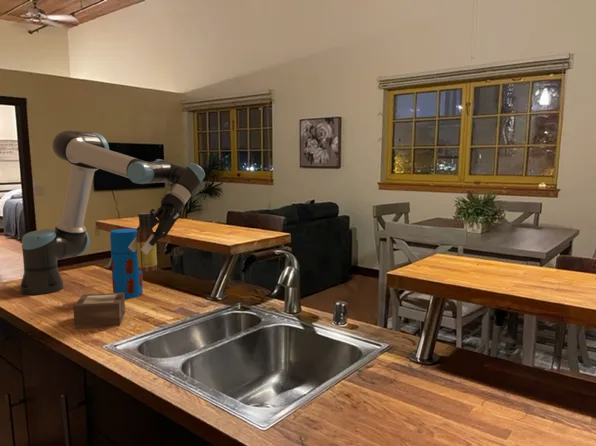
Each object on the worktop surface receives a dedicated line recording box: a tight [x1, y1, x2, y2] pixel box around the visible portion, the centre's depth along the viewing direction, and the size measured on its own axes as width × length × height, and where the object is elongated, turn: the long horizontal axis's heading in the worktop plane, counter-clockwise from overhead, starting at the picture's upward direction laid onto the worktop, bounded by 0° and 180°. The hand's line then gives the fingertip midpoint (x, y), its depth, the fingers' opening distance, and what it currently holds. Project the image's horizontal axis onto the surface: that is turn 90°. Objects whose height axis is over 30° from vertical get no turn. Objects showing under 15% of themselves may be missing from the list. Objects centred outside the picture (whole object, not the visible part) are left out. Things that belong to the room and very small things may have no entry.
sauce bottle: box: [136, 212, 158, 273], centre depth 155 cm, size 7×6×20 cm
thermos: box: [109, 228, 144, 300], centre depth 174 cm, size 11×11×25 cm
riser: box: [72, 292, 126, 330], centre depth 146 cm, size 13×13×7 cm
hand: (137, 250), depth 152 cm, fingers closed on sauce bottle, 6 cm apart
